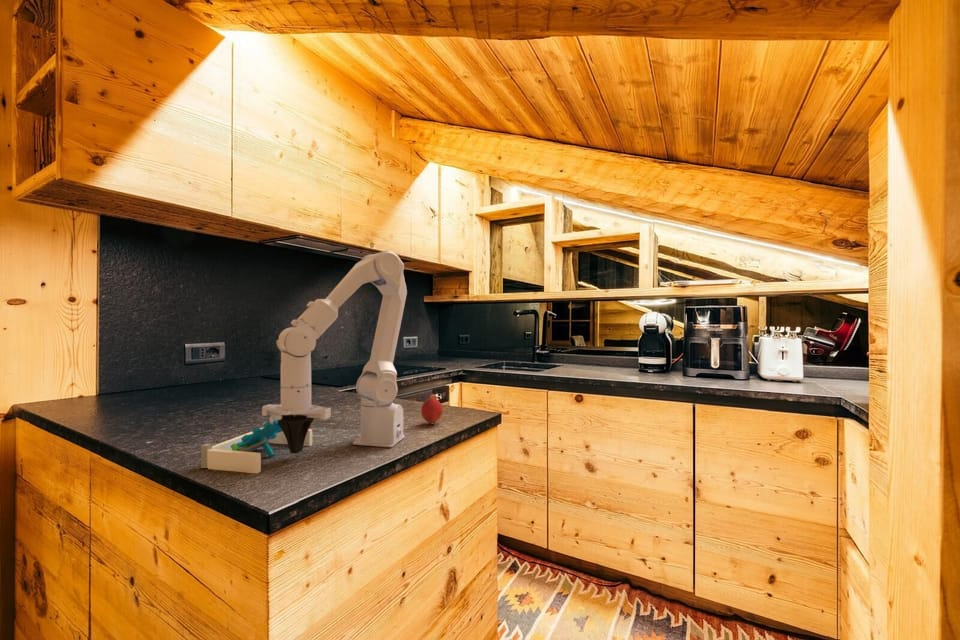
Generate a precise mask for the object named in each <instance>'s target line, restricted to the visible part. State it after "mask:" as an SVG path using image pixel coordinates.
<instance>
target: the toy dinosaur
mask: <svg viewBox="0 0 960 640" xmlns="http://www.w3.org/2000/svg"><path fill="white" fill-rule="evenodd" d="M278 420H279V419H278ZM278 420H275V421H273V424H271V423H270V421H269V420H268V421H265V422H266V423H265V422H264V423H265V424H264V428H263V429H260V428H259V427H258V426H256V427H255V428H253V429H251V432H253V434H250V435H244V434H243V435H244V436H243V437H242V438H241V440H242V442H239V443H237V444H236V443H234V444H232V445H231V446H230V447H231V448H232V450H233V451H243V452H255V451H257V450H258V449H260V448H261V447H262V448H263V449H264V450H265V452H266V453H267V455H268V456H269V458H272V457H274V456H275V455H276V454H275V452H274V451H273V449H272V447H271V446H270V444H269V443H268V442H269V441H268V440H270V439H274V438H276V437H277V434H276V433H279V432H281V431H282V429H281V428H280V426H279V425H278Z"/></svg>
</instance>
